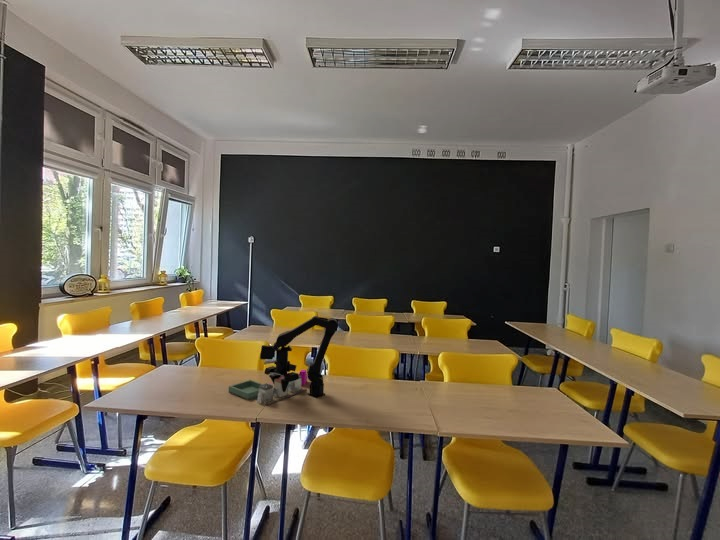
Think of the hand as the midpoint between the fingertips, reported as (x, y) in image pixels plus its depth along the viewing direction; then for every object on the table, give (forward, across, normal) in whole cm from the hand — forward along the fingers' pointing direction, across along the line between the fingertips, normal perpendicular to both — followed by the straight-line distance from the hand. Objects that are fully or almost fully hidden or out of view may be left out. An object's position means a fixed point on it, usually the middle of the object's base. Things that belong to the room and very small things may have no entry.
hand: (280, 390), depth 178 cm
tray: (+2, +14, +8) cm, 16 cm away
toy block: (+2, +9, -16) cm, 19 cm away
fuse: (+2, 0, 0) cm, 2 cm away
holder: (+2, 0, 0) cm, 2 cm away
